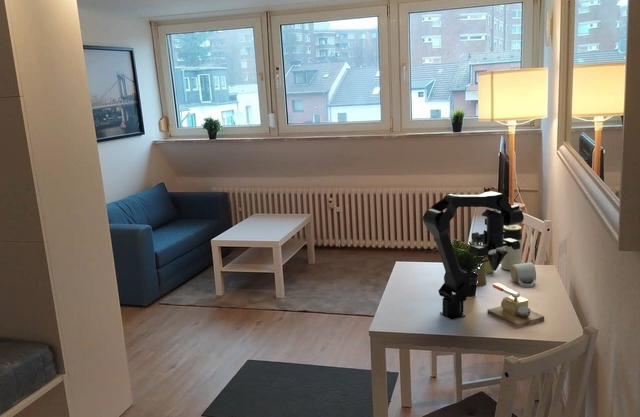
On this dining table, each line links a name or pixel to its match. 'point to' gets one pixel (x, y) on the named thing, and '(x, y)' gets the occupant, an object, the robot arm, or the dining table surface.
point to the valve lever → (506, 290)
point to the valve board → (515, 321)
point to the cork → (481, 275)
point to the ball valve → (516, 306)
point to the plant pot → (488, 267)
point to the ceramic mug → (523, 273)
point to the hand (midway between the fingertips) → (494, 270)
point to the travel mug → (512, 255)
